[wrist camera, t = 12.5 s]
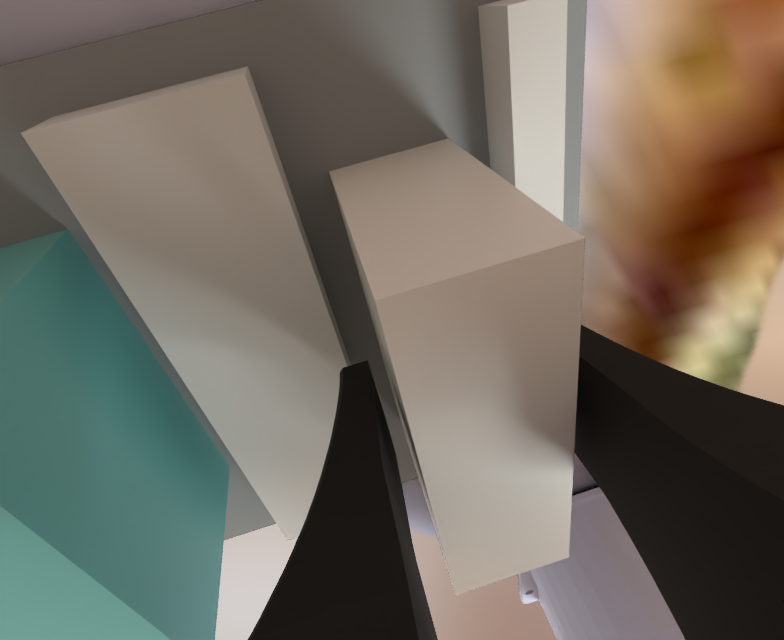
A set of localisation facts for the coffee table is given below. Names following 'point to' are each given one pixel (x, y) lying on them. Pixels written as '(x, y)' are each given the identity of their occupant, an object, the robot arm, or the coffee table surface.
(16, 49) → the coffee table surface
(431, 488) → the beige rectangular block
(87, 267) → the teal rectangular block
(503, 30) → the ribbed slotted plate
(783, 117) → the coffee table surface
